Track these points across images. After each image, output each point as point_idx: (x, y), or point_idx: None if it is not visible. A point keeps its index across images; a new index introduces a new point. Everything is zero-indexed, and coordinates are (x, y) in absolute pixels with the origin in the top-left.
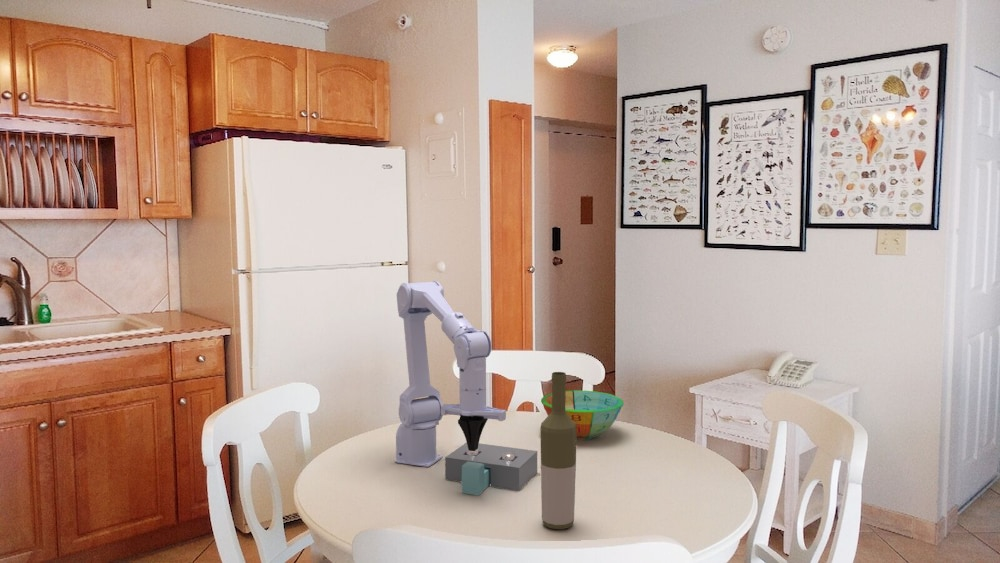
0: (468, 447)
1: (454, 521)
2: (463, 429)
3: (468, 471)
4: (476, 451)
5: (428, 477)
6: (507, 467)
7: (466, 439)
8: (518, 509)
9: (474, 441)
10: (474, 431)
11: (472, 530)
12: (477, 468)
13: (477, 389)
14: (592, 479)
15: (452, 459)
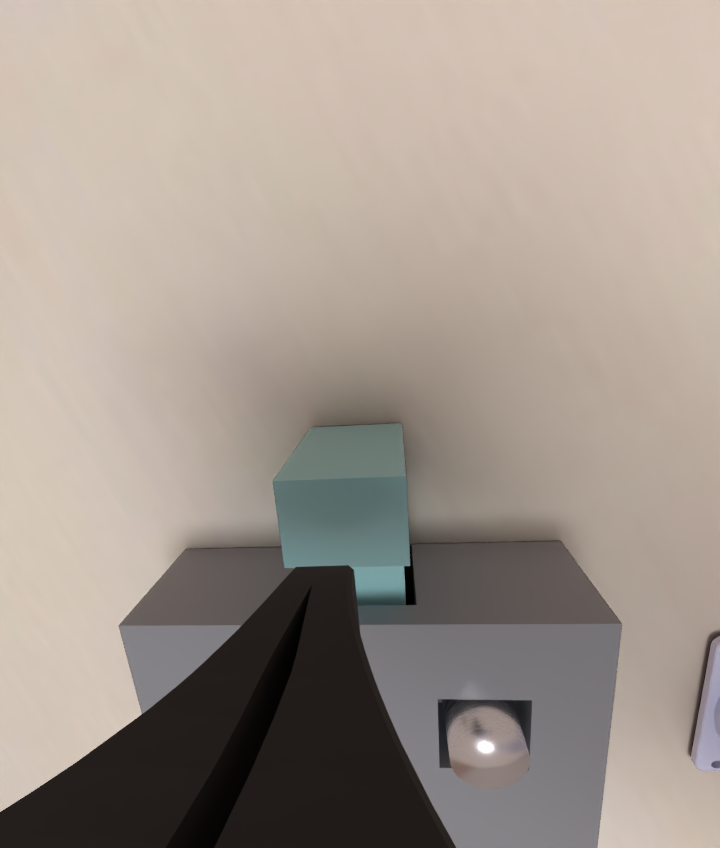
0: (342, 577)
1: (256, 76)
2: (367, 767)
3: (354, 465)
4: (451, 741)
5: (658, 532)
6: (191, 619)
7: (348, 634)
8: (78, 369)
9: (240, 627)
10: (132, 749)
11: (114, 18)
12: (281, 479)
13: None
14: (18, 738)
15: (561, 618)
